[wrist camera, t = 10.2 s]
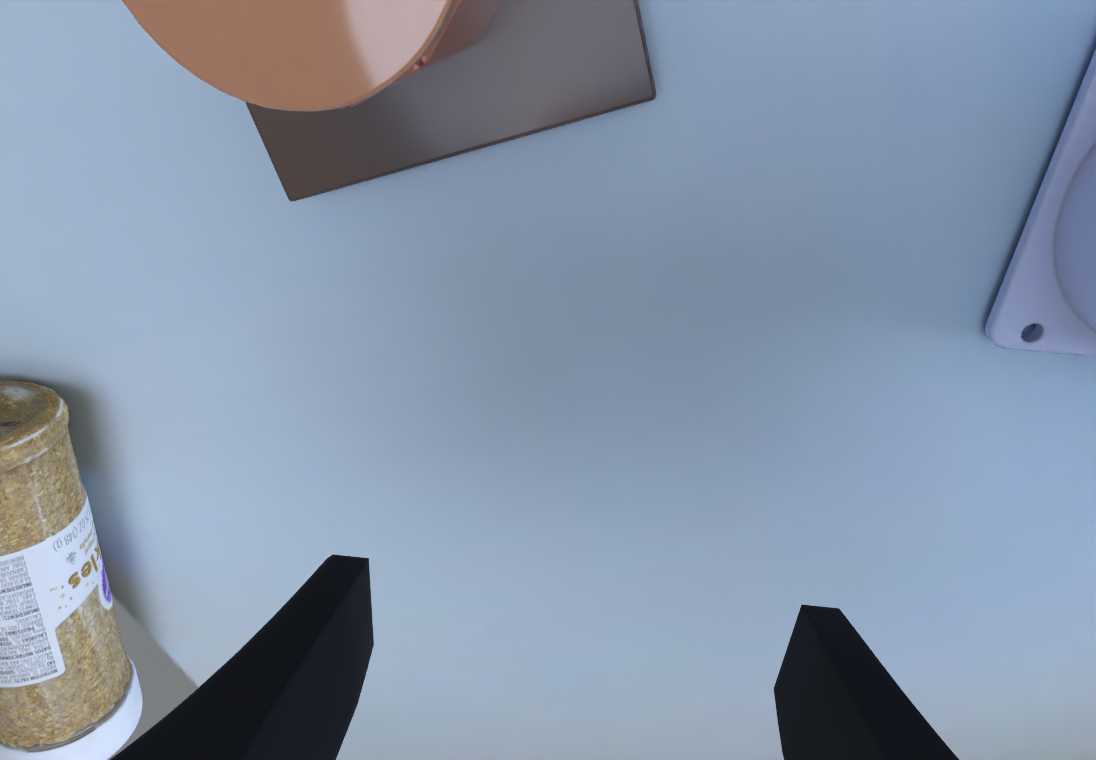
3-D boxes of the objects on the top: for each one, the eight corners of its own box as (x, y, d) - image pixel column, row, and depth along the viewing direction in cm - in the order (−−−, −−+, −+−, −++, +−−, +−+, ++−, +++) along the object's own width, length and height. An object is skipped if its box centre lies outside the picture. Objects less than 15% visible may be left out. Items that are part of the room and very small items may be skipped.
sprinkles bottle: (82, 369, 23) (154, 666, 29) (-97, 378, 21) (20, 687, 28) (39, 455, 19) (132, 774, 25) (-182, 471, 17) (-24, 804, 24)
